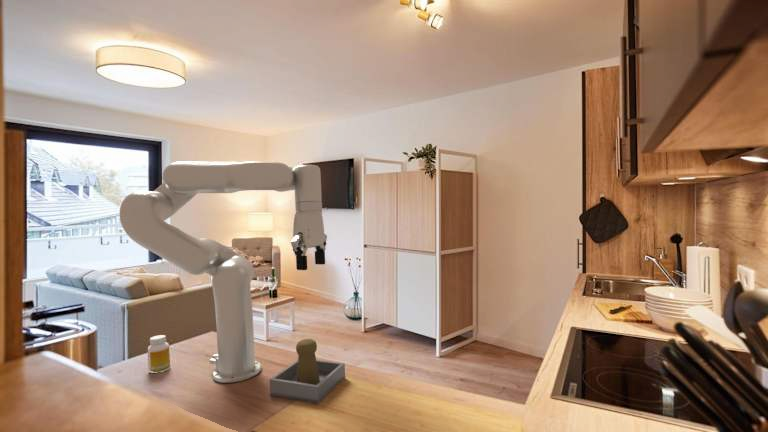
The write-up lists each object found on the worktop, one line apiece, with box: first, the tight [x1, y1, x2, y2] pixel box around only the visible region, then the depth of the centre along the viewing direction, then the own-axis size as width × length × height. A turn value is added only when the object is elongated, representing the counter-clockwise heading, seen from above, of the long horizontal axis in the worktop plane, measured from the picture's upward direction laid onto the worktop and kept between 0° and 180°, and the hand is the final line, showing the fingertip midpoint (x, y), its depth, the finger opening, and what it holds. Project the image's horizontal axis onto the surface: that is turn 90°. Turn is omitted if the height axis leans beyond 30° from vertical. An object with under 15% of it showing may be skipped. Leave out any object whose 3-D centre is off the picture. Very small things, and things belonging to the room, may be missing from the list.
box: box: [268, 359, 346, 405], centre depth 96 cm, size 14×14×4 cm
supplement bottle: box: [147, 334, 171, 372], centre depth 110 cm, size 5×5×10 cm
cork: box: [295, 338, 320, 385], centre depth 96 cm, size 6×6×11 cm
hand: (311, 266), depth 110 cm, fingers open, 9 cm apart
